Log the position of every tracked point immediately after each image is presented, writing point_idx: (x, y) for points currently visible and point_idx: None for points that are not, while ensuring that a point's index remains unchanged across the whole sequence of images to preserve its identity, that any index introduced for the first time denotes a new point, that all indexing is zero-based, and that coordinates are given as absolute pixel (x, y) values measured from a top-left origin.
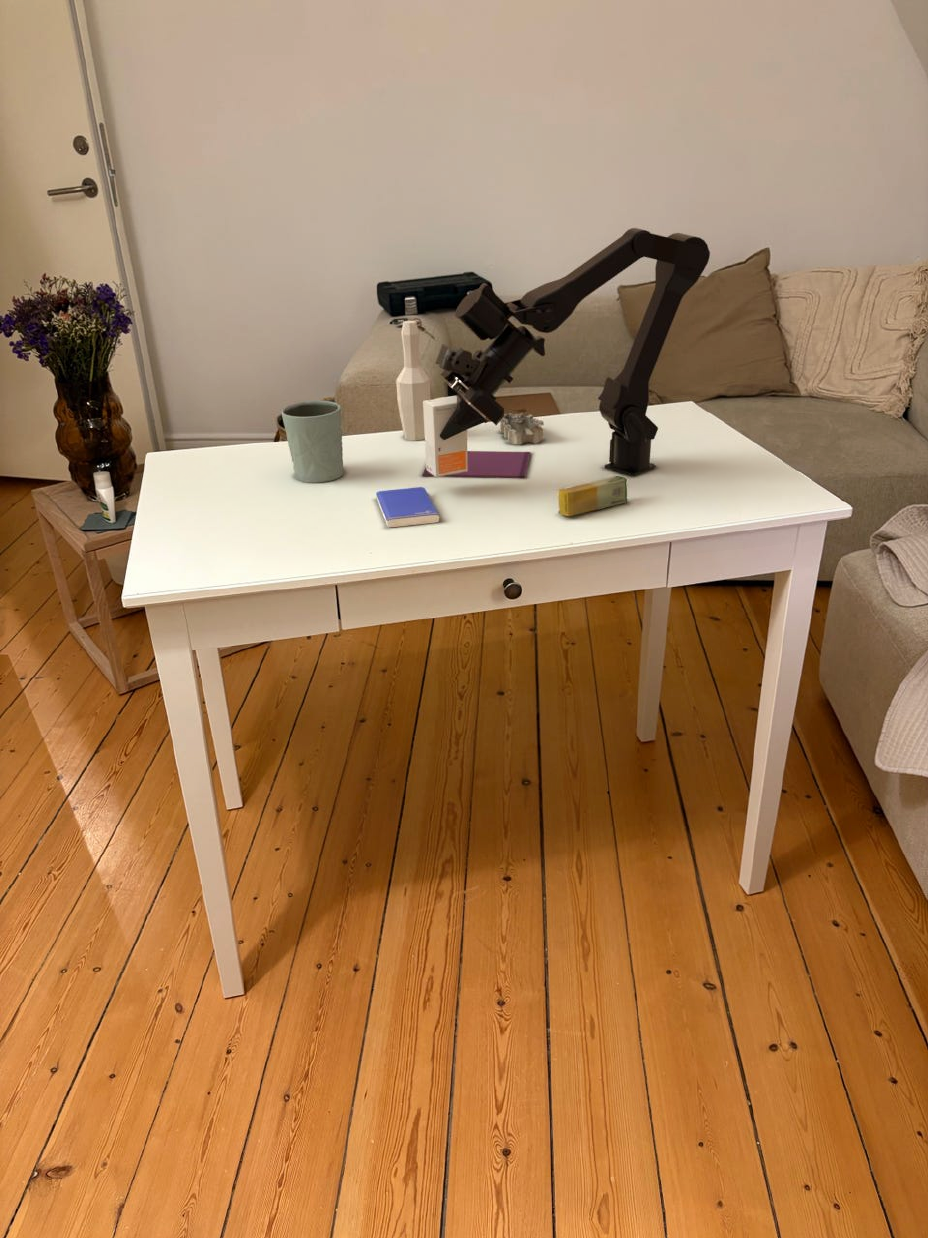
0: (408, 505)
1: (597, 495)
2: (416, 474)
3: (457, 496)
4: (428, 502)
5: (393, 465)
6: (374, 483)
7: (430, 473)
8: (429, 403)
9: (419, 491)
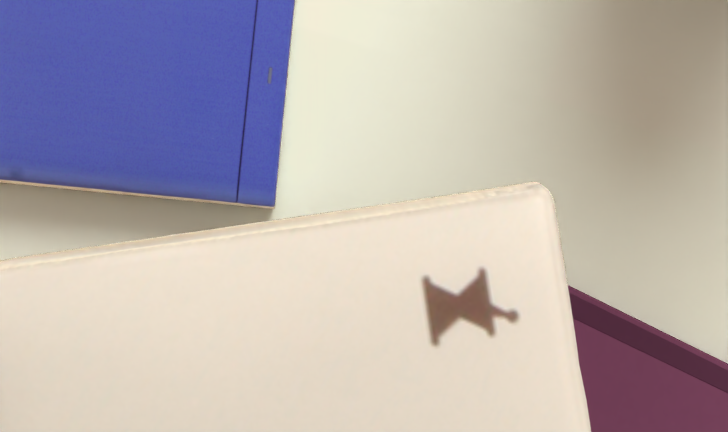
0: (15, 41)
1: None
2: (565, 249)
3: None
4: (13, 154)
5: (716, 179)
6: (517, 31)
7: None
8: (264, 253)
9: (208, 158)
